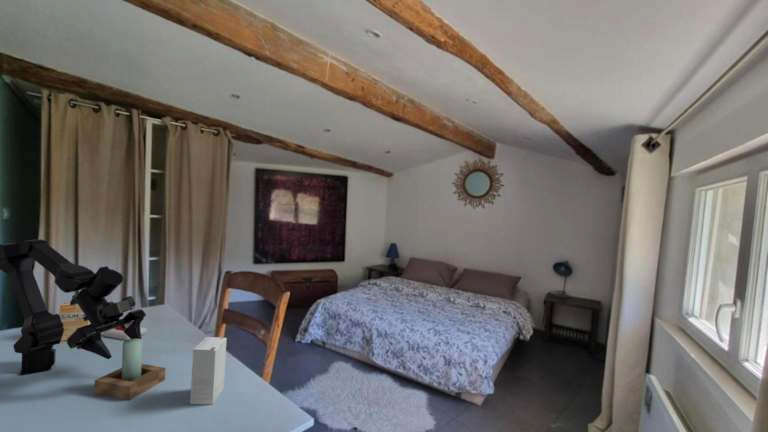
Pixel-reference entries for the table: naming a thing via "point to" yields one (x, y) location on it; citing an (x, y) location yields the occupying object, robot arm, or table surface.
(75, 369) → the table surface
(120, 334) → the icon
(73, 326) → the supplement box
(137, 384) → the square wooden frame
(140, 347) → the sage peg
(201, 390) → the skincare box
